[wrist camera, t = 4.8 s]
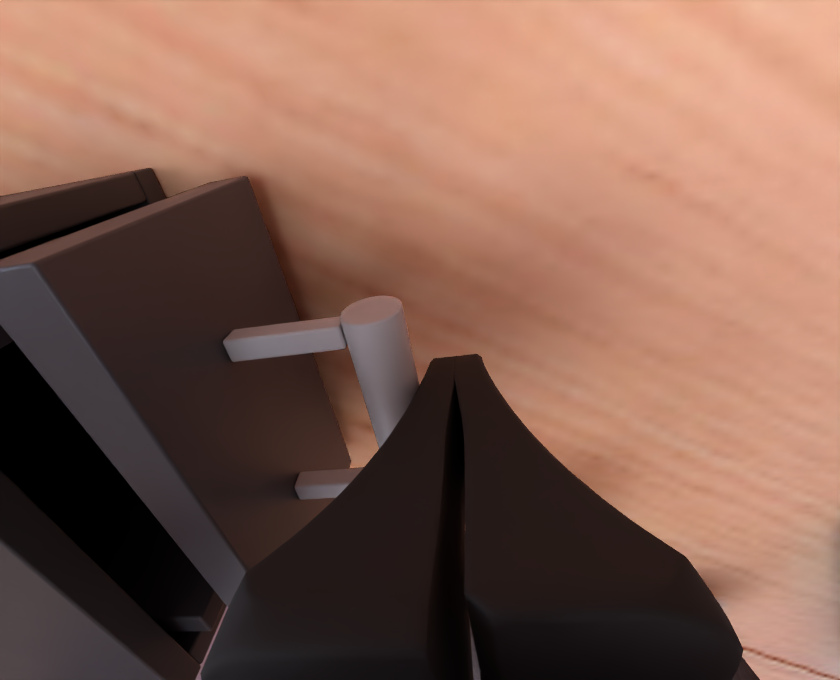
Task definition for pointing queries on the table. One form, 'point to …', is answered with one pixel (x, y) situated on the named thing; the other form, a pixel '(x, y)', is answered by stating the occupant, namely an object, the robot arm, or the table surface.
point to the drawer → (181, 395)
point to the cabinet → (47, 543)
